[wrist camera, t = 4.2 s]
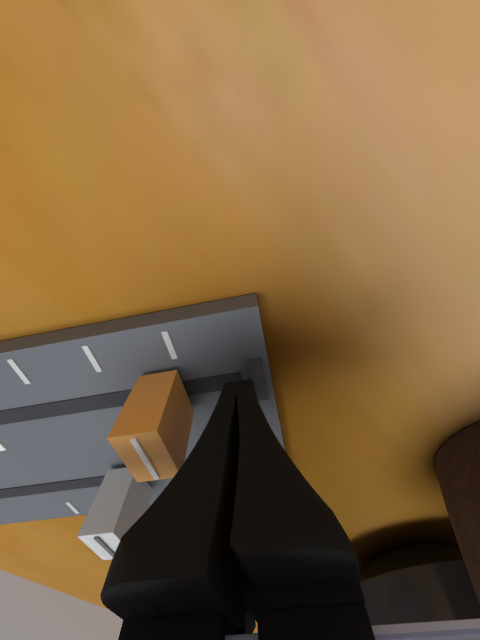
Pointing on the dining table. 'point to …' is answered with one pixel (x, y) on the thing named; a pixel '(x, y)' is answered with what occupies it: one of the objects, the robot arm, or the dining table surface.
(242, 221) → the dining table surface
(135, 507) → the grey fader knob
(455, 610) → the planter
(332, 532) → the robot arm
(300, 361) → the dining table surface
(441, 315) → the dining table surface
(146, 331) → the console
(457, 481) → the plant pot
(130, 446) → the orange fader knob
